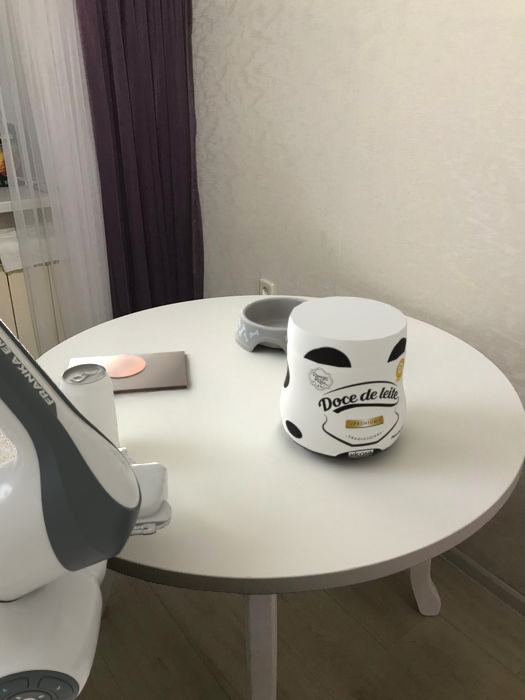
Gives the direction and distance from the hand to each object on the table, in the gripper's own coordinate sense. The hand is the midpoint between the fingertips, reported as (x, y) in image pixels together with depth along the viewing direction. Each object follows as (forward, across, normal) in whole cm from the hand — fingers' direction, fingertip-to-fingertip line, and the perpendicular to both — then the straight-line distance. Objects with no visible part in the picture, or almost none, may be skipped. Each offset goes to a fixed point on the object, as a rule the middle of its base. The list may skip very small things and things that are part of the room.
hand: (79, 456), depth 68 cm
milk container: (+9, -34, +6) cm, 36 cm away
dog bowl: (+43, -32, +6) cm, 54 cm away
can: (+10, 0, +6) cm, 12 cm away
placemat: (+32, -3, +6) cm, 33 cm away
